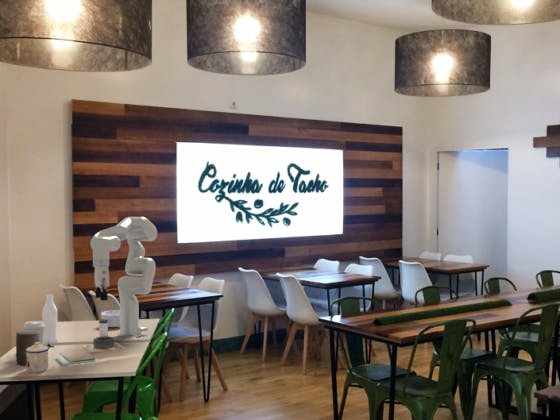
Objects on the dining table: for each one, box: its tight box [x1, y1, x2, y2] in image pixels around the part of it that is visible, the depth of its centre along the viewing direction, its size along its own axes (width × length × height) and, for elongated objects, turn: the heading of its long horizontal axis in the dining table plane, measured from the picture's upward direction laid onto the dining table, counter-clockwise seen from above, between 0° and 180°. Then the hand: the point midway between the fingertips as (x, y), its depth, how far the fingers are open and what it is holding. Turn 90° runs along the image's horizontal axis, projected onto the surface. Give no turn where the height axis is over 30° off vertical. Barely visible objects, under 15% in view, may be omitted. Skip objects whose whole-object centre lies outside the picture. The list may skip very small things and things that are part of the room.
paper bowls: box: [100, 309, 120, 328], centre depth 365 cm, size 15×15×8 cm
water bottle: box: [41, 293, 59, 347], centre depth 318 cm, size 7×7×25 cm
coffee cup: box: [22, 320, 45, 346], centre depth 299 cm, size 10×10×15 cm
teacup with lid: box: [26, 342, 50, 373], centre depth 272 cm, size 12×9×12 cm
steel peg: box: [98, 318, 109, 340], centre depth 308 cm, size 4×4×13 cm
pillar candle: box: [15, 329, 40, 366], centre depth 285 cm, size 10×10×15 cm
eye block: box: [83, 336, 125, 353], centre depth 308 cm, size 16×16×6 cm
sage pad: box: [55, 355, 97, 367], centre depth 289 cm, size 14×14×1 cm
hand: (101, 298), depth 308 cm, fingers open, 9 cm apart
